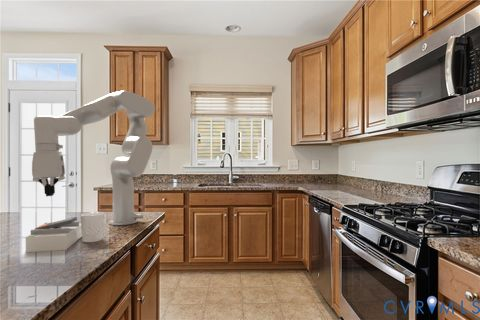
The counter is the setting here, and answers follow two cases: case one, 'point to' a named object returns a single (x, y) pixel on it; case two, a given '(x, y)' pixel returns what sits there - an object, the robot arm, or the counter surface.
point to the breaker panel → (53, 238)
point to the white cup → (92, 226)
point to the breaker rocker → (57, 223)
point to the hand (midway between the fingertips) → (49, 195)
